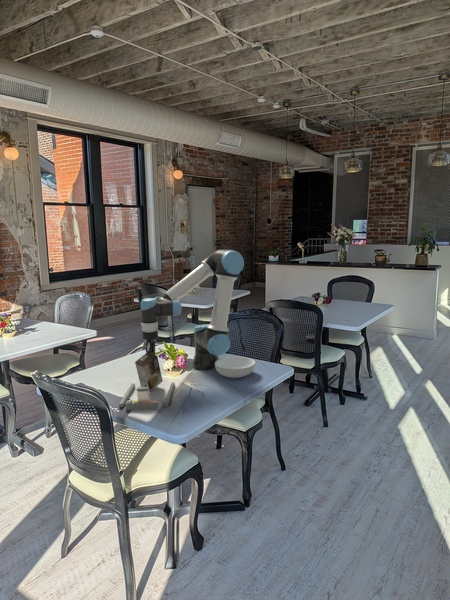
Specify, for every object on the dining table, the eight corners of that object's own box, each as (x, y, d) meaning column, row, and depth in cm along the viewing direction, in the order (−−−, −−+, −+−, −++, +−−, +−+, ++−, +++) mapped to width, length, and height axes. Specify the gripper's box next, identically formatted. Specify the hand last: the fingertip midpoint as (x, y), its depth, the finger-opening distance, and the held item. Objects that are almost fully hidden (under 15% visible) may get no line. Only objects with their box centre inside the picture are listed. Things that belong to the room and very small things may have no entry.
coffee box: (153, 376, 217) (148, 351, 208) (163, 381, 213) (158, 355, 205) (140, 387, 211) (134, 361, 202) (149, 392, 207) (144, 366, 199)
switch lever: (150, 403, 194) (149, 386, 193) (148, 406, 190) (147, 389, 189) (139, 403, 194) (138, 386, 193) (137, 407, 190) (136, 389, 189)
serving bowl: (262, 378, 221) (262, 364, 220) (224, 385, 213) (223, 371, 212) (245, 366, 240) (245, 354, 239) (209, 372, 232) (208, 359, 231)
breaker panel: (174, 386, 214) (174, 378, 213) (166, 409, 188) (165, 400, 187) (132, 387, 214) (131, 380, 214) (117, 410, 188) (117, 402, 188)
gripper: (145, 326, 219) (147, 371, 223) (139, 333, 206) (141, 381, 211) (160, 326, 218) (161, 371, 223) (155, 333, 206) (157, 381, 210)
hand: (152, 376), depth 217 cm, fingers closed
